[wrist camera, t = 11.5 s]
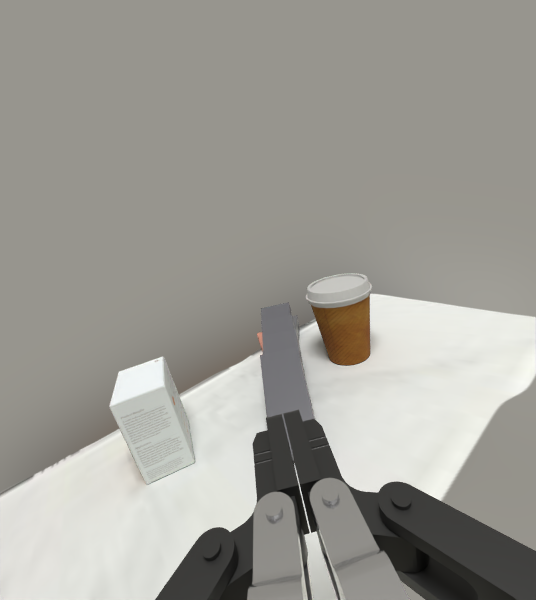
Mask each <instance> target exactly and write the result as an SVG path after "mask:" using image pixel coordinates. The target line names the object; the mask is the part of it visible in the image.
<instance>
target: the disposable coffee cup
mask: <svg viewBox="0 0 536 600" xmlns="http://www.w3.org/2000/svg"><path fill="white" fill-rule="evenodd" d="M307 289H308V290H307V295H306V299H307V301H309V304H310V305H311V306H312V309H313V312H314V315H315V317H316V321H317V324H318V327H319V329H320V332H321V335H322V338H323V341H324V344H325V346H326V349H327V352H328V355H329V358H330V360H331V361H332V362H334V363H336V364H340V365H354V364H358V363H360V362H363V361H365V360H366V359H367V358H368V357H369V356H370V297H369V296H370V293H371V290H372V285H371V284H370V283H369V281H368V279H367V277H366V276H365V275H362V274H356V273H349V274H339V275H333V276H329V277H325V278H322V279H320V280H317V281H315V282H313V283H311V284H310V285H309V286H308V288H307Z"/></svg>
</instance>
